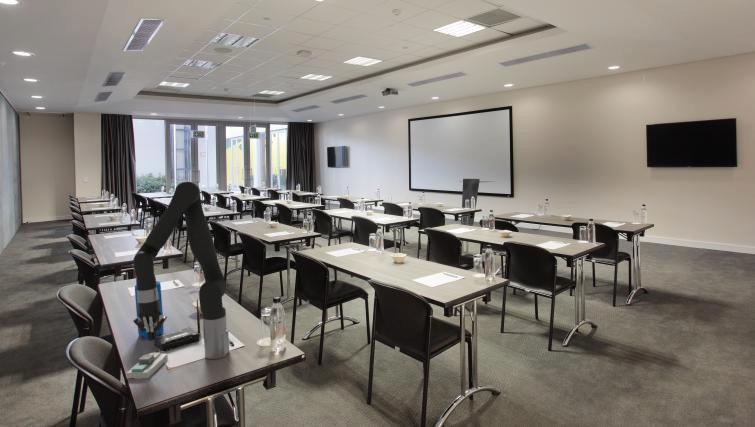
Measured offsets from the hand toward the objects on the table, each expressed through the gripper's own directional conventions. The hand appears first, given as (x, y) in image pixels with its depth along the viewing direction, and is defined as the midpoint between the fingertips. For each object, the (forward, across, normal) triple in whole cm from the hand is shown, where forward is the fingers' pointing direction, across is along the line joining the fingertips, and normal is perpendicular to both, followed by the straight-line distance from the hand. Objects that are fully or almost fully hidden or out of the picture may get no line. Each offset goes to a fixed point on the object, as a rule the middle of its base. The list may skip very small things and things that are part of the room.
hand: (152, 339), depth 176 cm
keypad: (+10, 0, +4) cm, 11 cm away
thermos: (+10, +16, -30) cm, 35 cm away
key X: (+8, +1, +5) cm, 9 cm away
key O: (+10, +1, +10) cm, 14 cm away
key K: (+10, +1, -1) cm, 10 cm away
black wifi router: (+11, -2, -21) cm, 24 cm away
